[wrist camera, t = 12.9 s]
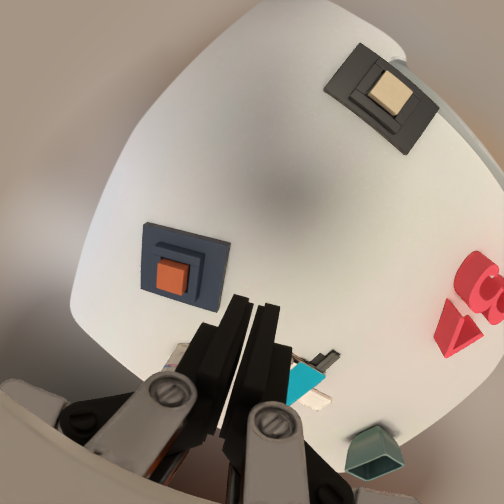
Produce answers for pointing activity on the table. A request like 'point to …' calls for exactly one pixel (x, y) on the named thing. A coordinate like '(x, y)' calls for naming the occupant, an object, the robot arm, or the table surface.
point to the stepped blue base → (190, 253)
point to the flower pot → (373, 454)
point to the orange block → (172, 276)
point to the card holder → (309, 380)
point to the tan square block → (390, 93)
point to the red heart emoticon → (471, 304)
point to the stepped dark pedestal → (357, 100)
